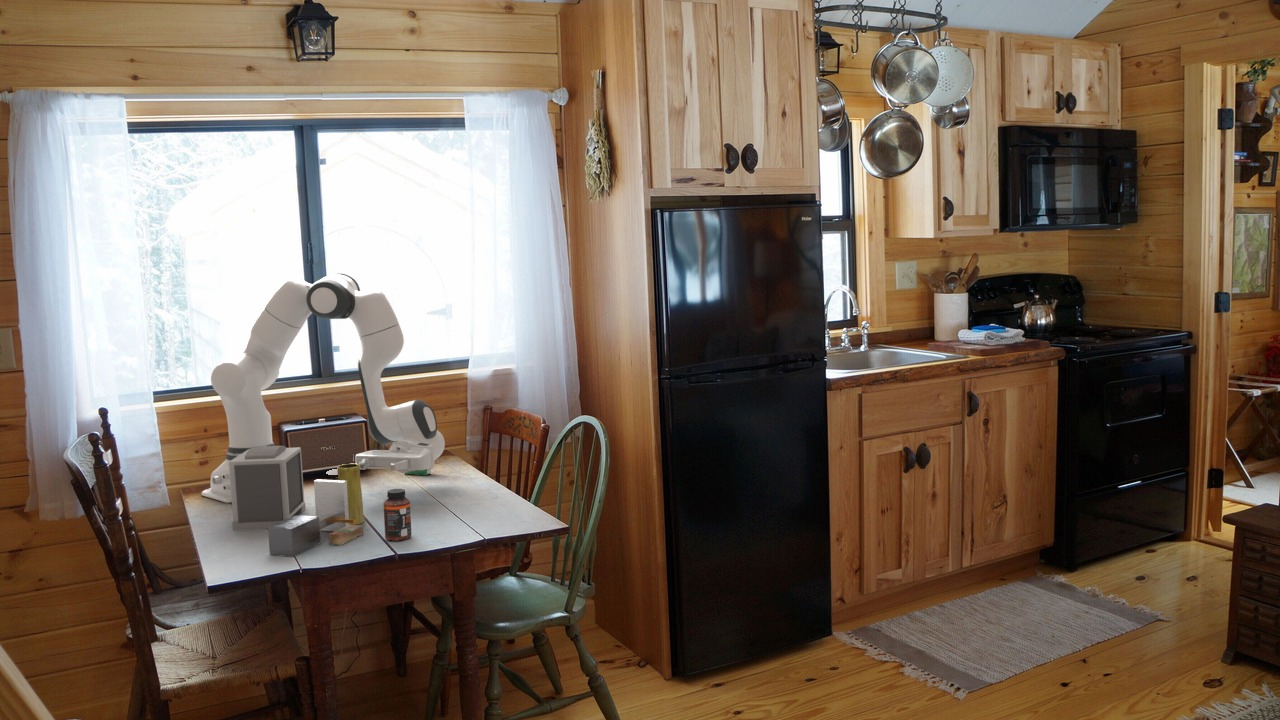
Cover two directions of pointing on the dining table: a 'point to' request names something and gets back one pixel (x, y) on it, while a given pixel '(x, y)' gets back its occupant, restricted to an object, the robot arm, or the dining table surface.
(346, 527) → the rail
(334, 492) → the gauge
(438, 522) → the dining table surface
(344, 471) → the vase
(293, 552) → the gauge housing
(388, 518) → the supplement bottle
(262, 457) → the grey box
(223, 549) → the dining table surface
